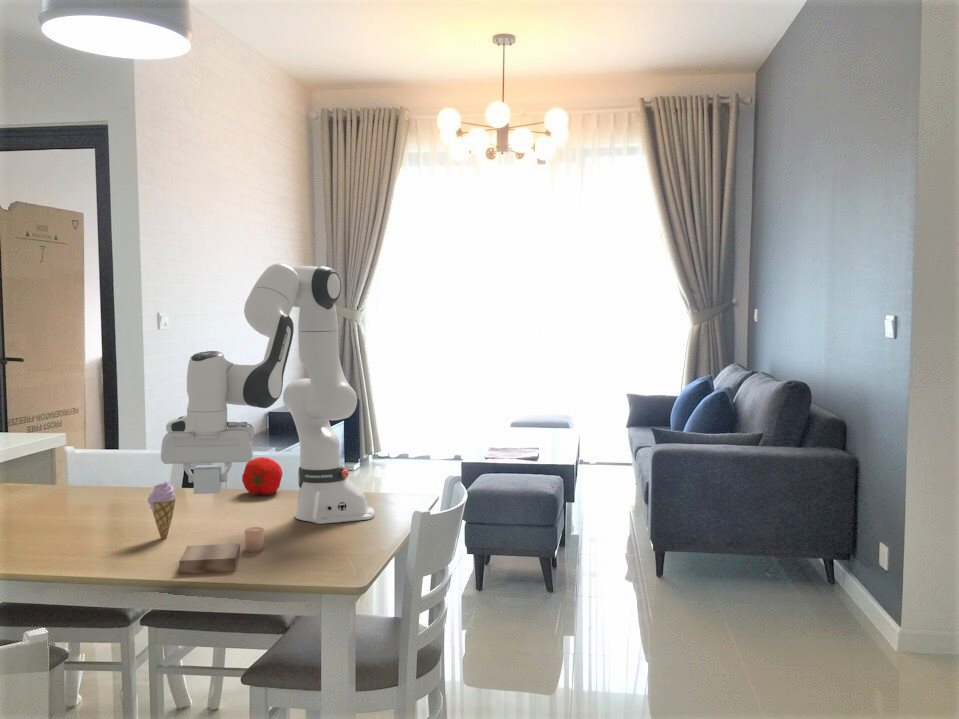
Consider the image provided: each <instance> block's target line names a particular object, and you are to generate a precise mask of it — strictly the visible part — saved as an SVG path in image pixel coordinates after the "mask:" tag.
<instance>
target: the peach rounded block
mask: <svg viewBox="0 0 959 719" xmlns="http://www.w3.org/2000/svg"><path fill="white" fill-rule="evenodd" d="M264 550H265V528H264V527H259V526H253V527H247V528H245V529H244V552H247V553H260V552H262V551H264Z"/></svg>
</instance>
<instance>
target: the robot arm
mask: <svg viewBox="0 0 959 719" xmlns="http://www.w3.org/2000/svg"><path fill="white" fill-rule="evenodd" d="M341 291H342V281H341V278H340V276H339V275H338V273H337V271H336V270H335V269H334V268H331V267H328V266H323V265H321V266H313V265H298V266H289V265H287V264H284V263H273V264H270V265H269V266H268V267H267V268H265V269H264V271H263V272H262V273H261V275H260V276H259V278H258V279H257V280H256V282H255V284H254V285H253V287H252V289H251V290H250V292H249V295H248V296H247V299H246V301H245V304H244V308H243V313H244V317H245V319H246V322H247V323H248V325H249V326H250V327H251V328H252V329H253V330H254V331H256V332H257V333H259V334H261V335H262V336H265V337H266V338H267V337H268V338H269V339H268V342H267V346H266V350H265V353H264V357H263V360H262V361H261V362H259V363H257V364H253V365H252V364H238V363H237V364H235V363H233V362H231V361H229V360H227V359H226V358H225V355H224V353H223V352H222V351H217V350H207V351H200V352H197V353H195V354H193V355H192V356H190V358H189V361H188V365H187V371H186V374H187V375H186V394H187V397H188V404H187V407H186V415H184V416H180V417H177V418H174V419H171V420H169V421H168V422H167V423H166V425H165V431H166V432H167V433H165V435H164V436H163V438H162V441H161V442H162V443H161V450H160V461H161V462H162V464H165V465H177V464H178V465H179V464H182V467H183V471H185V473H186V475H187V476H188V483H189V484H192V483H193V484H194V473H193V472H192V470H191V467H192V464H210V463H211V464H219V463H220V464H221V463H224V467H225V468H226V470H225V471H224V472H222V473H221V474H220V482H222V483H227V482H228V474H229V472H230V470H231V469H232V466H233V463H248V462H249V461H251V460H253V459H254V449H253V447H254V446H253V441H252V440H254V438H255V428H254V426H253V425H252V424H251V423H248V422H247V421H240V422H239V421H228V406H227V405H234V406H246V407H247V406H248V407H249V406H250V407H254V408H260V409H268V408H270V407H271V406H273V405H274V404H275V403H276V402H277V401H278V400H279V399H280V397H281V395H282V400H283V404H284V406H285V408H286V409H287V410H288V411H289V413H290V414H291V417H292V419H293V422H294V425H295V428H296V432H297V434H298V435H297V436H298V440H299V441H298V443H299V462H300V463H299V467H298V471H297V472H298V474H297V477H298V478H297V480H298V481H297V482H298V487H299V492H298V499H297V500H298V501H297V505H296V510H295V513H294V517H295V519H297V520H300V521H304V522H311V523H314V524H317V525H321V524H331V523H333V524H335V523H342V522H343V523H344V522H354V521H355V522H356V521H363V520H370V519H373V518H374V517H375V508H373V507H372V506H370V505H368V503H367V497H366V494H365V493H364V490H362V489H361V488H360V487H358V486H357V485H355V483H353V482H352V481H350V480H349V479H347V478H348V477H349V473H350V472H349V470H347V468H346V467H345V466H342V465H341V464H340V460H341V459H340V439H339V437H338V435H337V434H336V432H334V429H333V428H332V426H331V423H330V421H340V420H344V419H349V418H350V417H351V416H352V415H353V414H354V413H355V410H356V408H357V405H358V397H357V393H356V391H355V390H354V389H353V387H352V386H351V385H350V384H349V382H348V381H347V379H346V375H345V374H344V371H343V368H342V364H341V363H342V362H341V360H340V350H339V345H340V344H339V322H338V313H337V307H336V303H337V301H338V300H339V298H340V295H341ZM293 308H299V312H298V324H297V328H298V331H297V335H298V336H297V338H298V341H297V342H298V358H299V361H300V362H301V364H302V365H303V366H304V367H305V369H306V371H307V374H308V376H309V378H307V377H305V378H299V379H296V380H293V381H291V382H289V383H288V384H287V385H286V387H285V388H284V391H283V386H284V374H285V371H286V370H285V369H286V365H287V362H288V358H289V354H290V350H291V346H292V342H293V339H294V338H293V336H294V333H295V332H294V329H295V328H294V327H295V326H294V322H293V319H292V318H291V316H290V313H291V311H292V310H293ZM282 392H283V393H282Z"/></svg>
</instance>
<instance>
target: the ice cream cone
mask: <svg viewBox="0 0 959 719" xmlns="http://www.w3.org/2000/svg"><path fill="white" fill-rule="evenodd" d="M153 487H154V488H153V490H152V491H149V492H148V495H149V496H148V498H147V502H148V504H149V505H150V506H149V508H150V509H151V510H152V514H153V518H154V521H155V524H156V527H157V530H158V534H159V536H160V539H162V540H165V539H168V534H169V531H170V528H171V525H172V524H171V523H172V519H173V516H174V511H175V507H176V493H175V487H174V486H173V485H172V484H171V482H168V481H167V480H166V481H164V482H163V483H158V484H155V485H154V486H153Z"/></svg>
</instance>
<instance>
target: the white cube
mask: <svg viewBox="0 0 959 719" xmlns="http://www.w3.org/2000/svg"><path fill="white" fill-rule="evenodd" d="M222 467H223V466H222V464H217V465H215V464H214V465H213V464H211V465H209V464H206V465H196V467H195V468H194V469H193V474H194V483H193V494H194V495H204V494H205V495H206V494H207V495H209V494H210V495H211V494H220V493H221V491H222V489H223V485H222V484H223V482H220V474H221V473H223V470H222V469H223V468H222Z"/></svg>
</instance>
